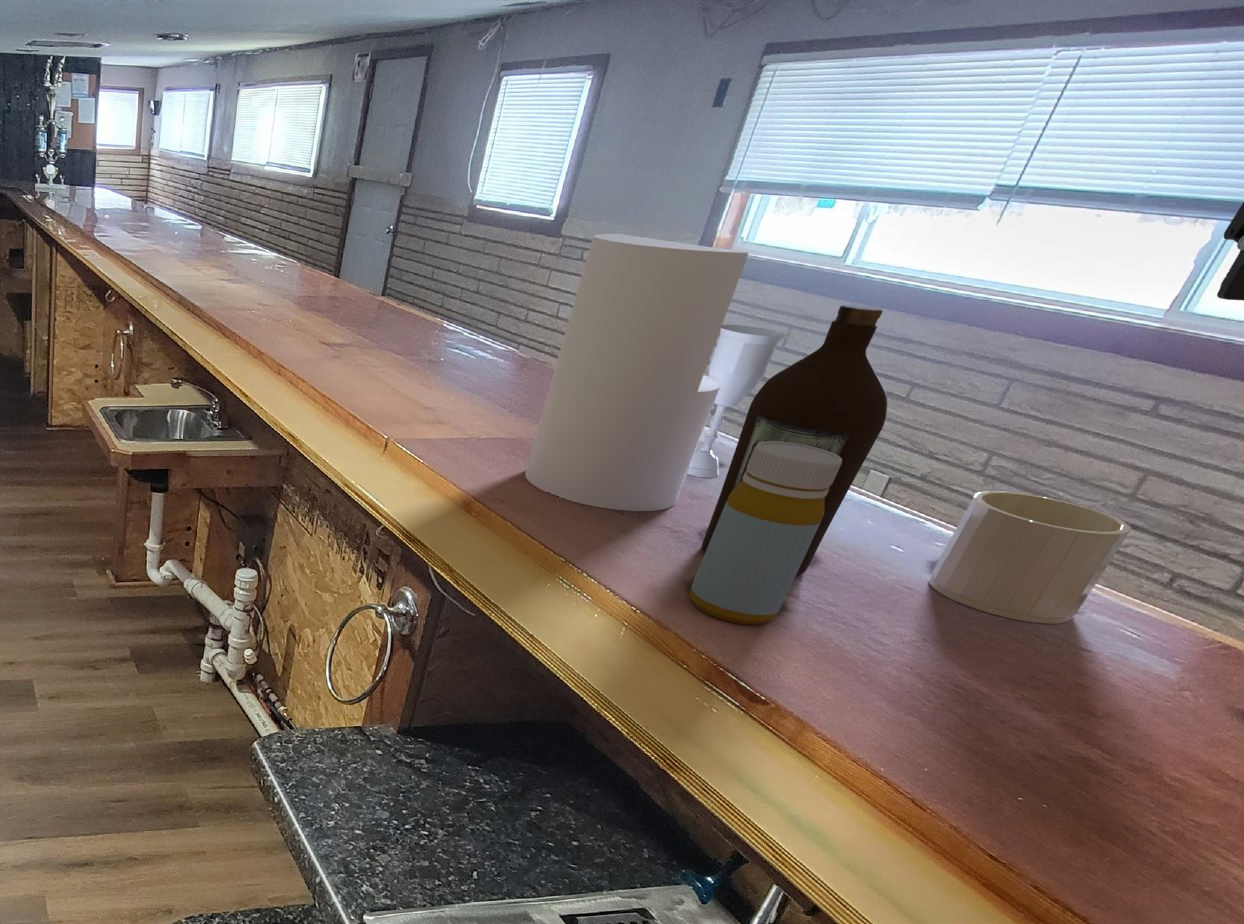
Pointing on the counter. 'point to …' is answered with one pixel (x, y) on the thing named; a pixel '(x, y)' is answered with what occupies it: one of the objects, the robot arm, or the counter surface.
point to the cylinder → (634, 373)
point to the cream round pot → (1027, 556)
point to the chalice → (733, 381)
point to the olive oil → (818, 411)
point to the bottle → (764, 532)
